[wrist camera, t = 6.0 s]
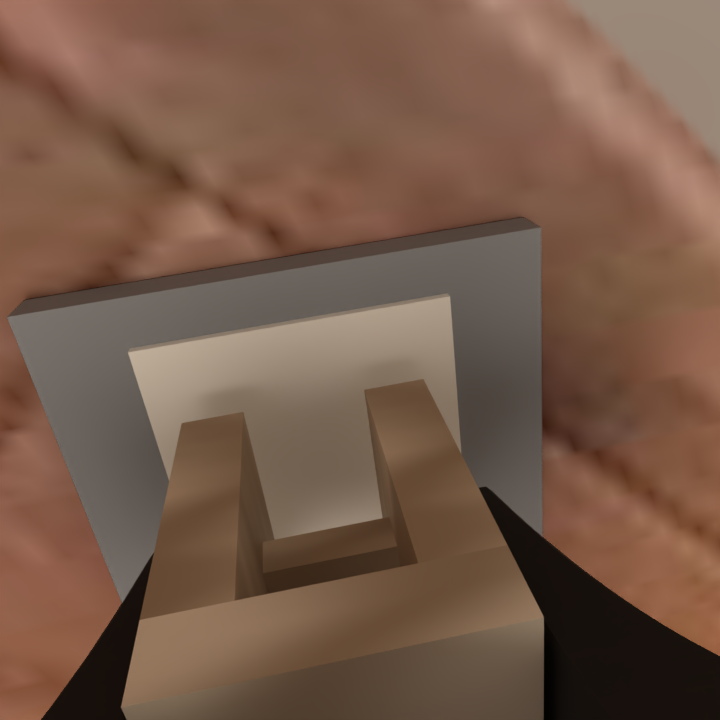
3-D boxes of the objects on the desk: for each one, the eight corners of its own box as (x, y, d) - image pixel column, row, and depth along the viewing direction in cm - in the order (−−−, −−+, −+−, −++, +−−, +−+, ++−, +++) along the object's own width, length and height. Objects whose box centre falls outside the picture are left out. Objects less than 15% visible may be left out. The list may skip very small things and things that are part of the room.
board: (532, 764, 23) (546, 799, 22) (229, 834, 22) (227, 873, 21) (523, 217, 14) (545, 229, 13) (23, 300, 13) (3, 320, 12)
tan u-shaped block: (423, 378, 13) (544, 617, 7) (440, 558, 15) (542, 845, 9) (181, 423, 12) (120, 707, 7) (235, 600, 14) (219, 923, 9)
